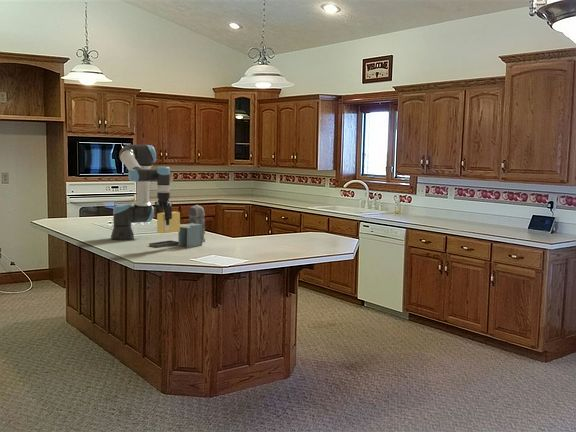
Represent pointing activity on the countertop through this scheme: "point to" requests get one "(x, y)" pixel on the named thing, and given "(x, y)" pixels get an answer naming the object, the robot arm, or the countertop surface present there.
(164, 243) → the tray
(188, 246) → the dispenser
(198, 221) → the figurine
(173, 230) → the yellow tall slab
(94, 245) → the countertop surface
